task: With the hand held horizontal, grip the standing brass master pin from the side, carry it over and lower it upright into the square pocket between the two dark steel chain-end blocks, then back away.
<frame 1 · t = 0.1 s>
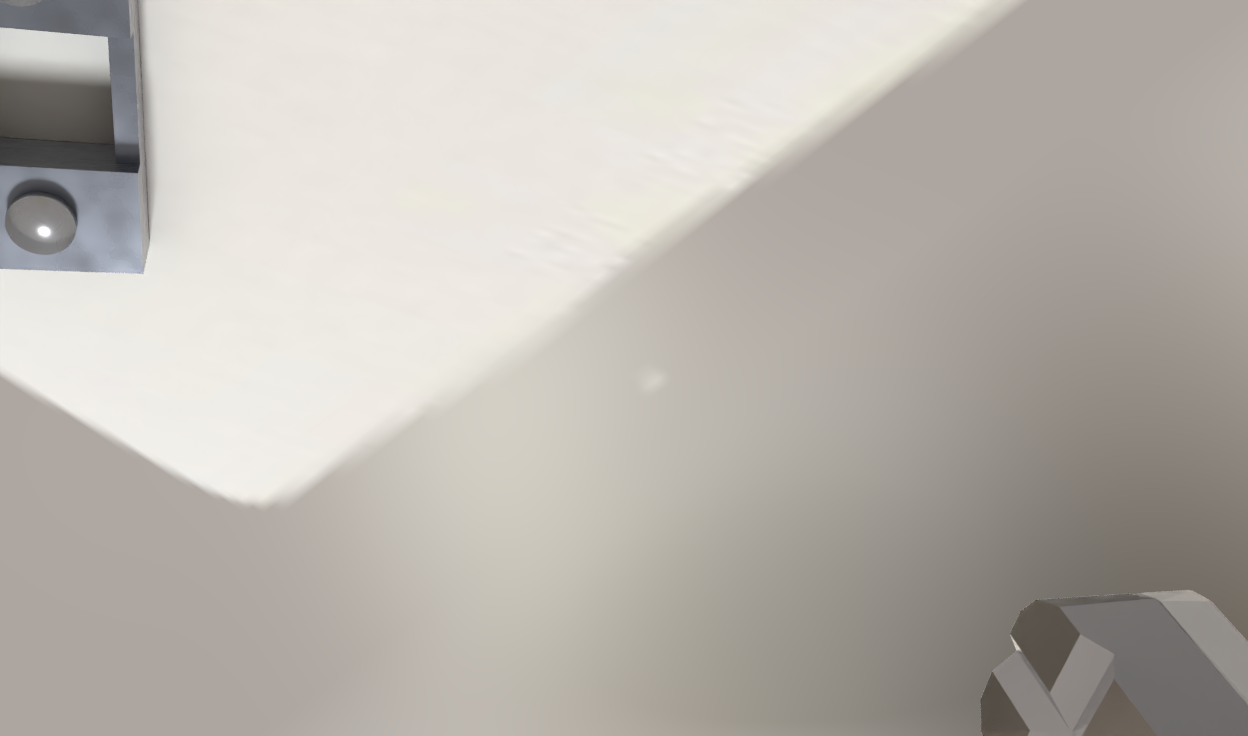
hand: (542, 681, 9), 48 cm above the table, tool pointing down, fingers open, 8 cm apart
chain ends: (43, 75, 51), on the table
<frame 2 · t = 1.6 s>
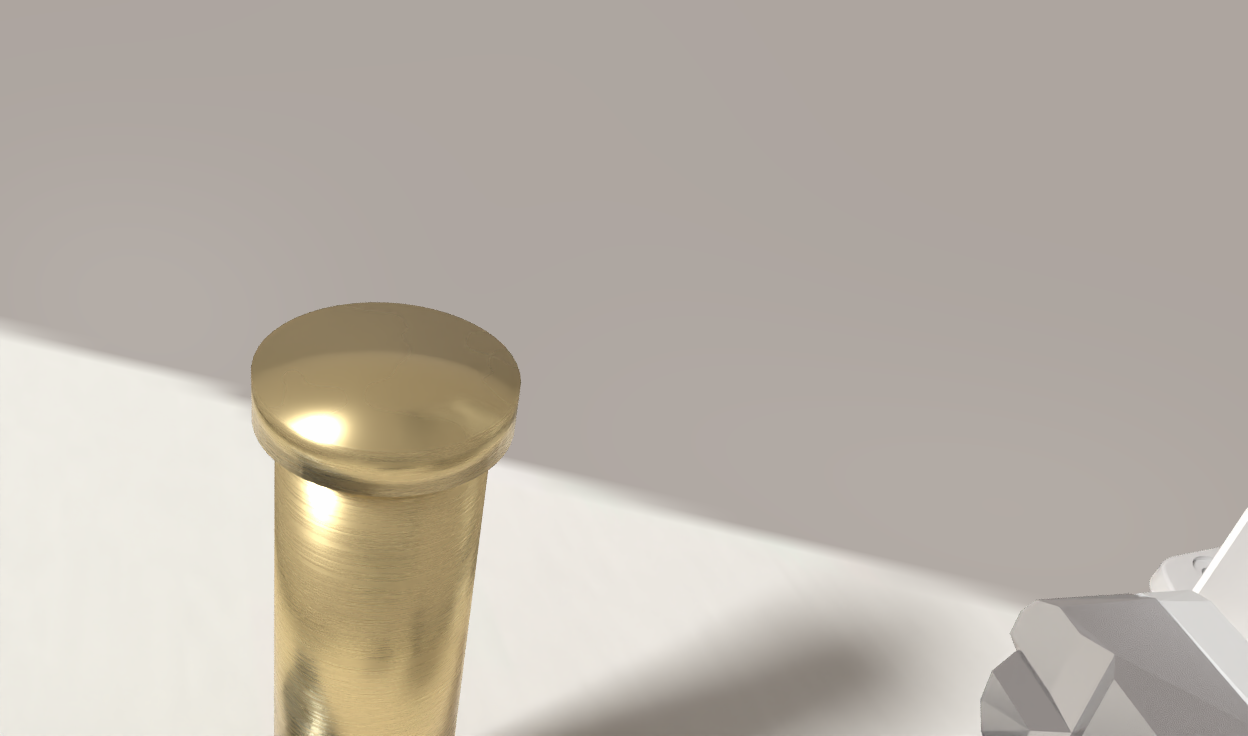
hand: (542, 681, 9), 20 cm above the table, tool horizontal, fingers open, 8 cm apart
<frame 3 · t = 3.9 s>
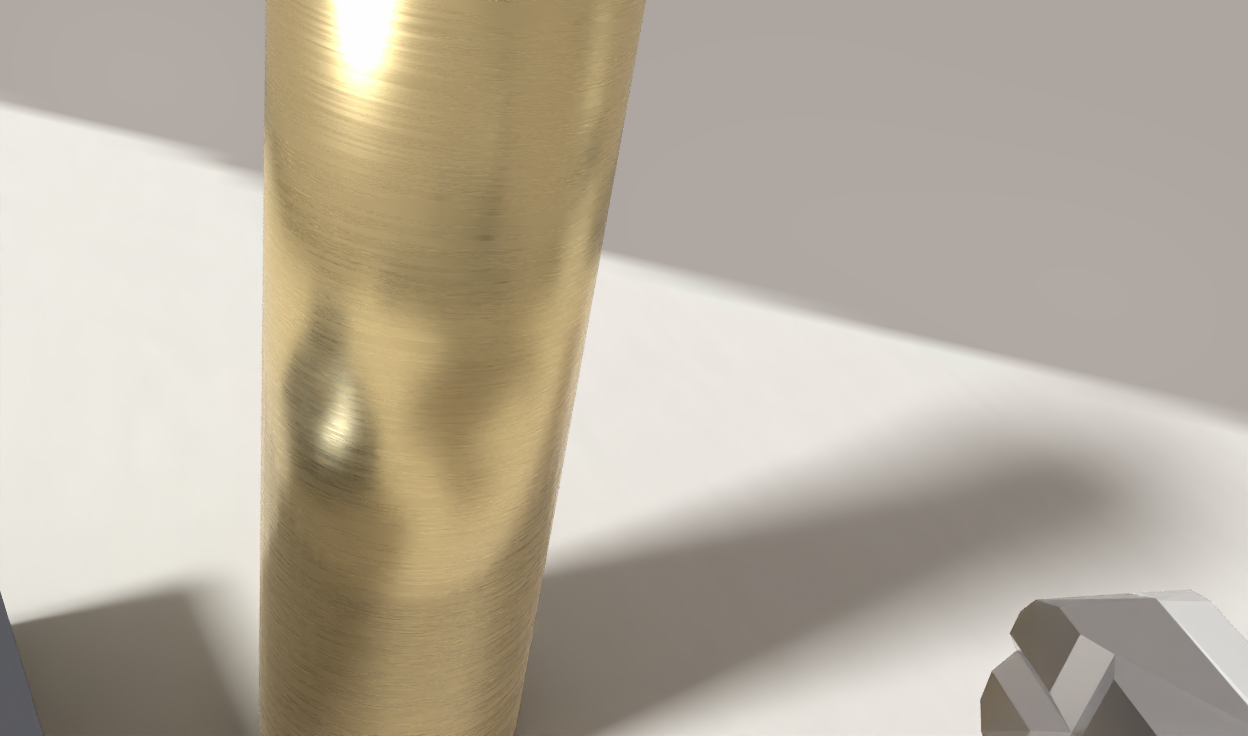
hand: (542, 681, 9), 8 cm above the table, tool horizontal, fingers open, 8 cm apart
master pin: (391, 703, 18), on the table
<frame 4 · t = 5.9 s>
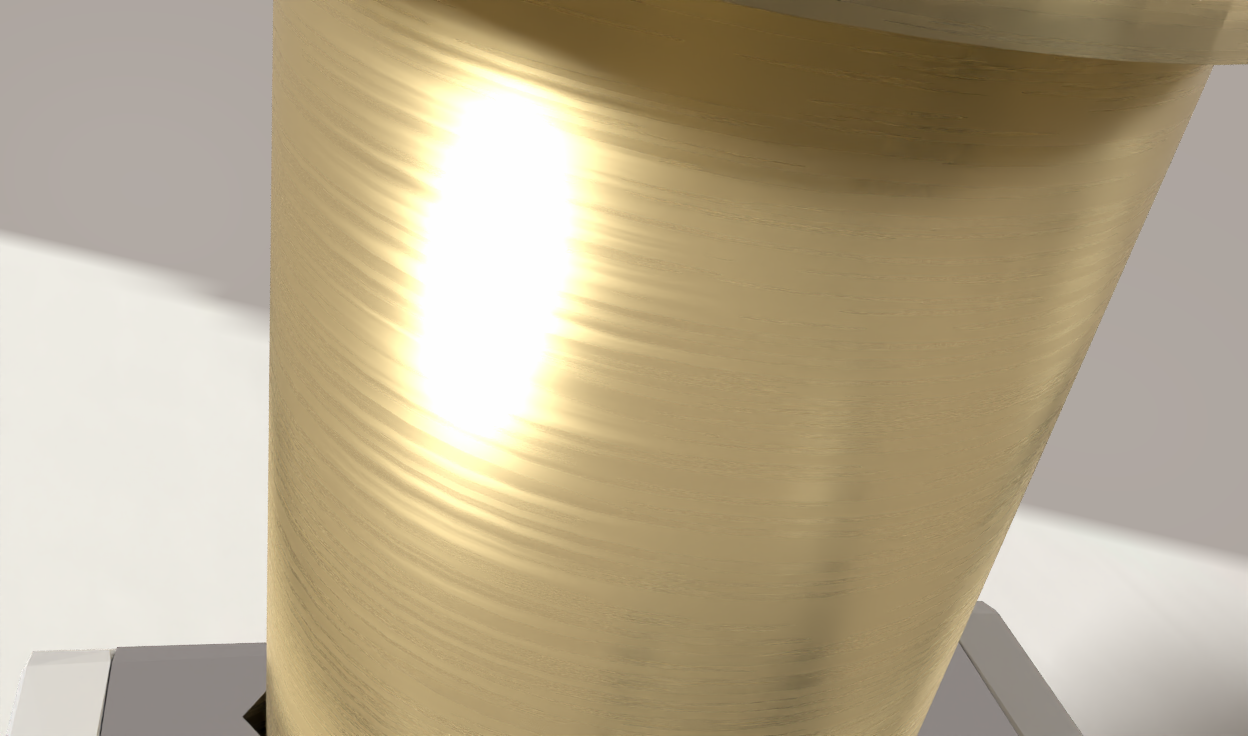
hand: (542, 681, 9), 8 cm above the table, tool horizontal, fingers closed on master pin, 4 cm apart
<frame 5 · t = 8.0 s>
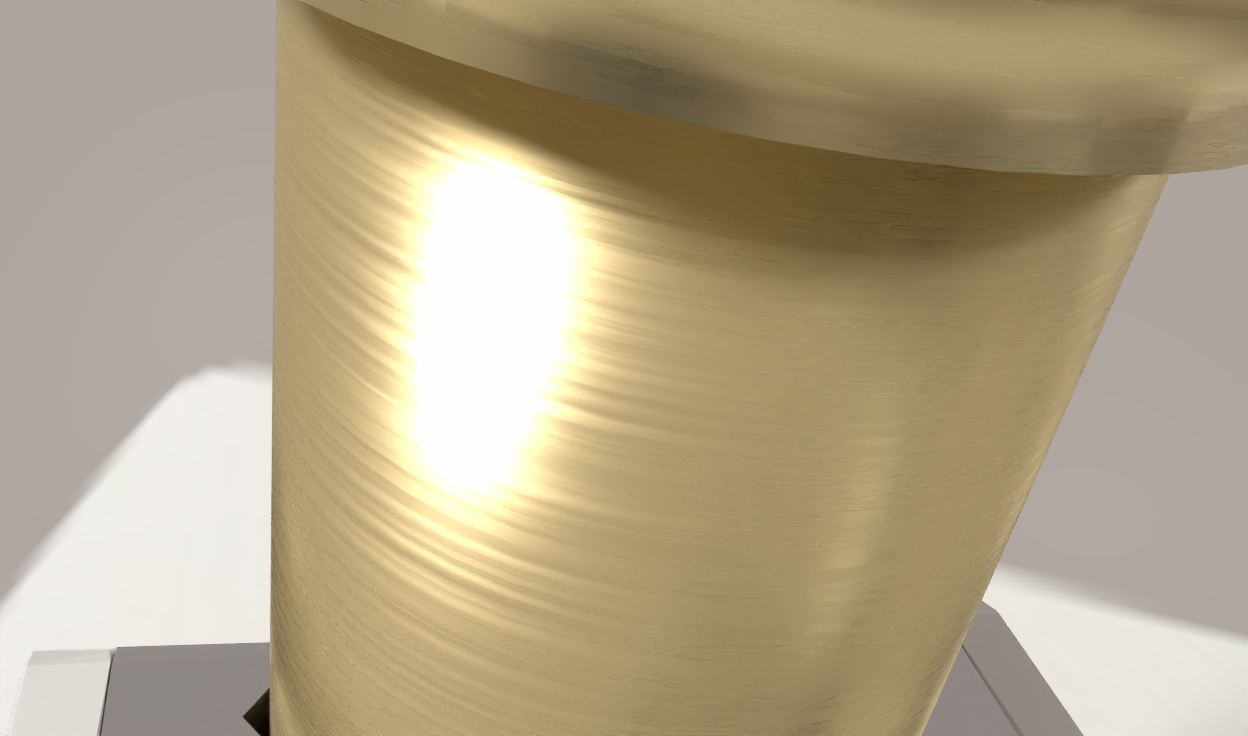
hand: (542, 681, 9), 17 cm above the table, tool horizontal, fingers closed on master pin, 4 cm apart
when the fingers open (9 cm above the table, at t = 10.2 s): master pin stays where it is, resting in chain ends.
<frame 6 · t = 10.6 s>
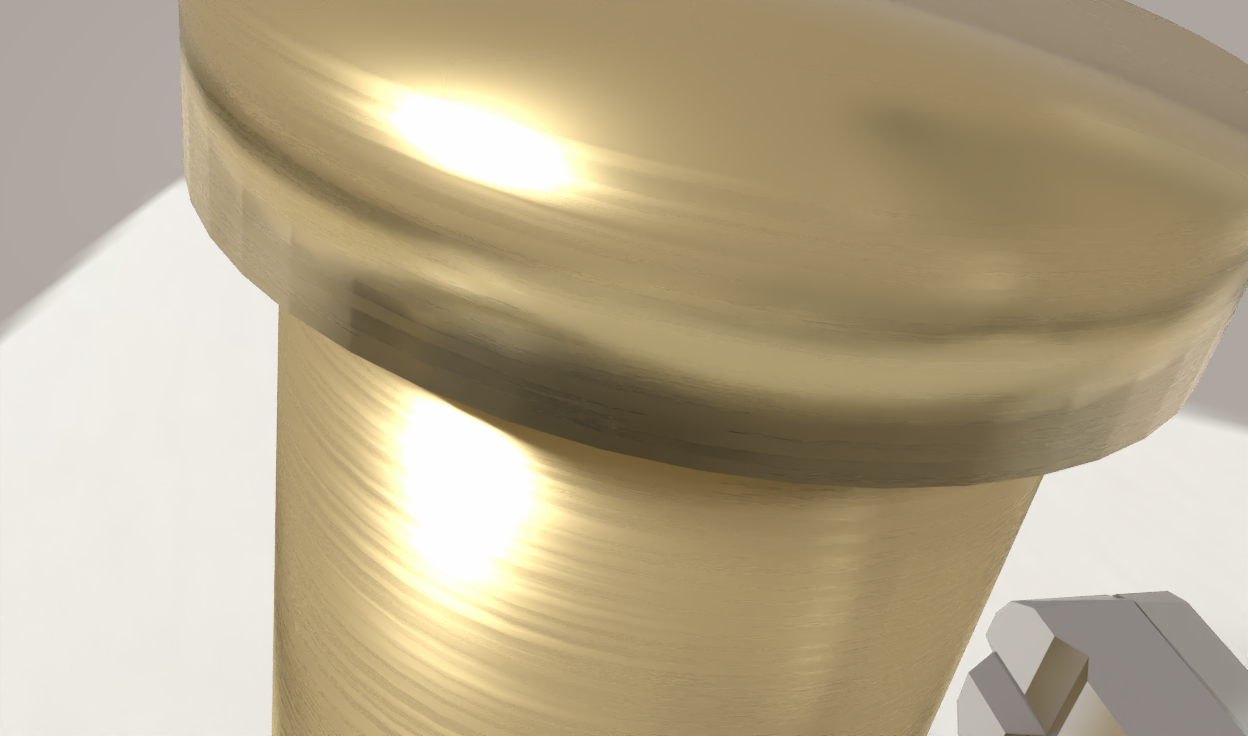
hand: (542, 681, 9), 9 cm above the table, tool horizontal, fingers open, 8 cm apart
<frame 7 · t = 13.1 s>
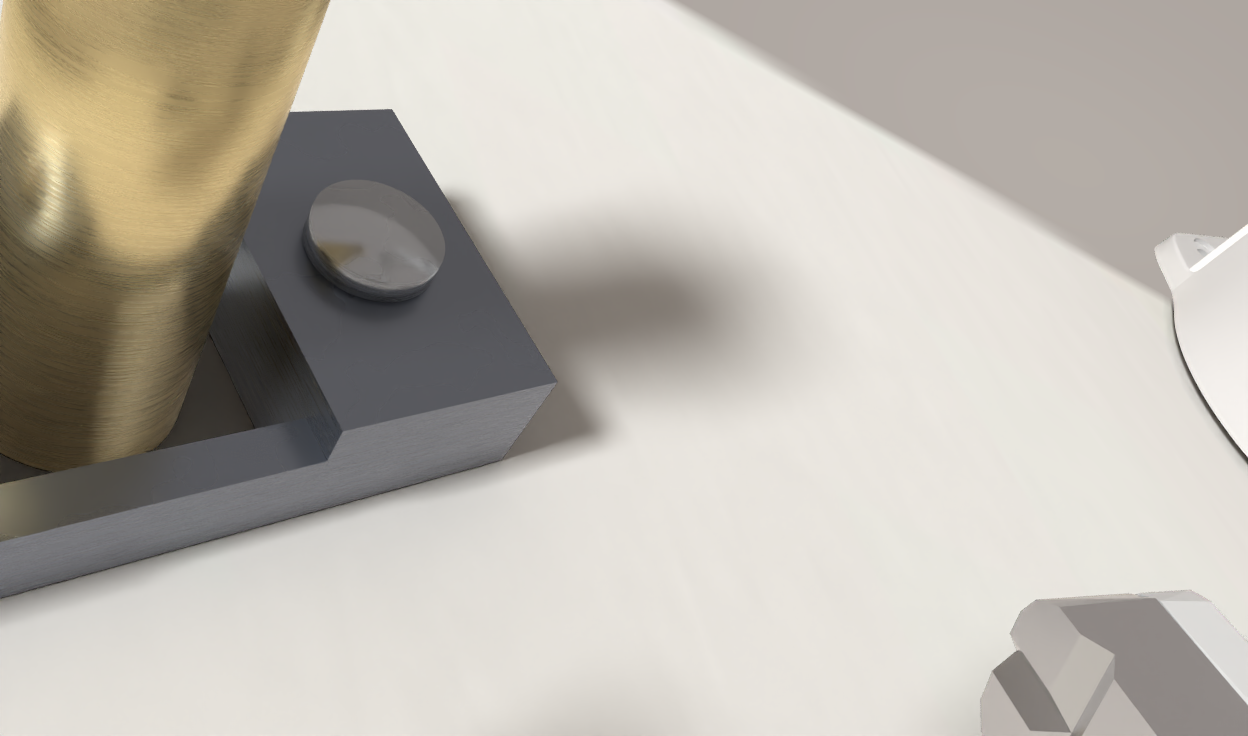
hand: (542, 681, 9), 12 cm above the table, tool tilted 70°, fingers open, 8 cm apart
chain ends: (70, 382, 22), on the table
master pin: (72, 384, 22), resting in chain ends
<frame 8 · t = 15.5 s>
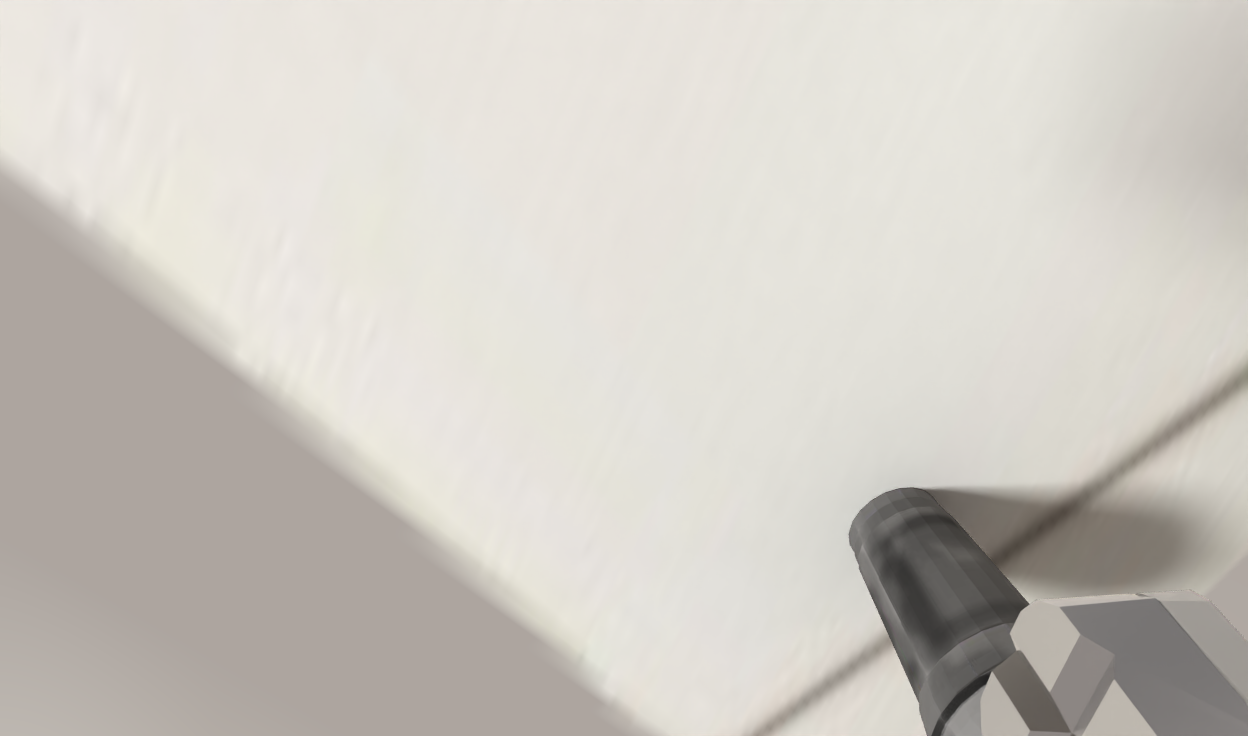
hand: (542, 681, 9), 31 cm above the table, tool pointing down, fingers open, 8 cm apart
beverage cup: (892, 522, 55), on the table
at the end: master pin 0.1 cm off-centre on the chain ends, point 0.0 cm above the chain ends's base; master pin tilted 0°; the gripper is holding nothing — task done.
